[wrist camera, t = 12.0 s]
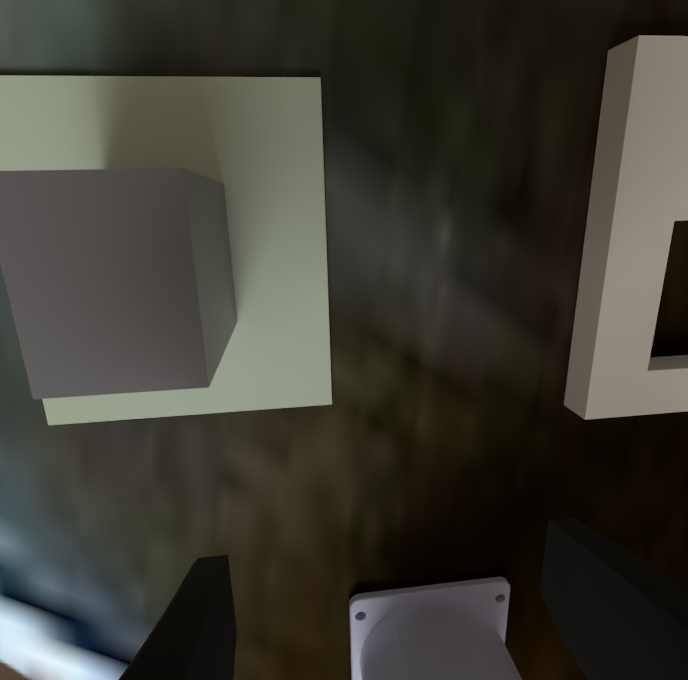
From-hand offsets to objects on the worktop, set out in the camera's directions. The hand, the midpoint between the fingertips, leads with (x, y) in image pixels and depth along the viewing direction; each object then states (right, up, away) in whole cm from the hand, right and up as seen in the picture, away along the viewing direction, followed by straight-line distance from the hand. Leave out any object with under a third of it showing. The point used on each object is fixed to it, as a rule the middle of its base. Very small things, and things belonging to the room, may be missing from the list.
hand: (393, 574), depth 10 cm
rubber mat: (-7, +8, +7) cm, 13 cm away
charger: (-7, +8, +6) cm, 13 cm away
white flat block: (+14, +9, +9) cm, 19 cm away
